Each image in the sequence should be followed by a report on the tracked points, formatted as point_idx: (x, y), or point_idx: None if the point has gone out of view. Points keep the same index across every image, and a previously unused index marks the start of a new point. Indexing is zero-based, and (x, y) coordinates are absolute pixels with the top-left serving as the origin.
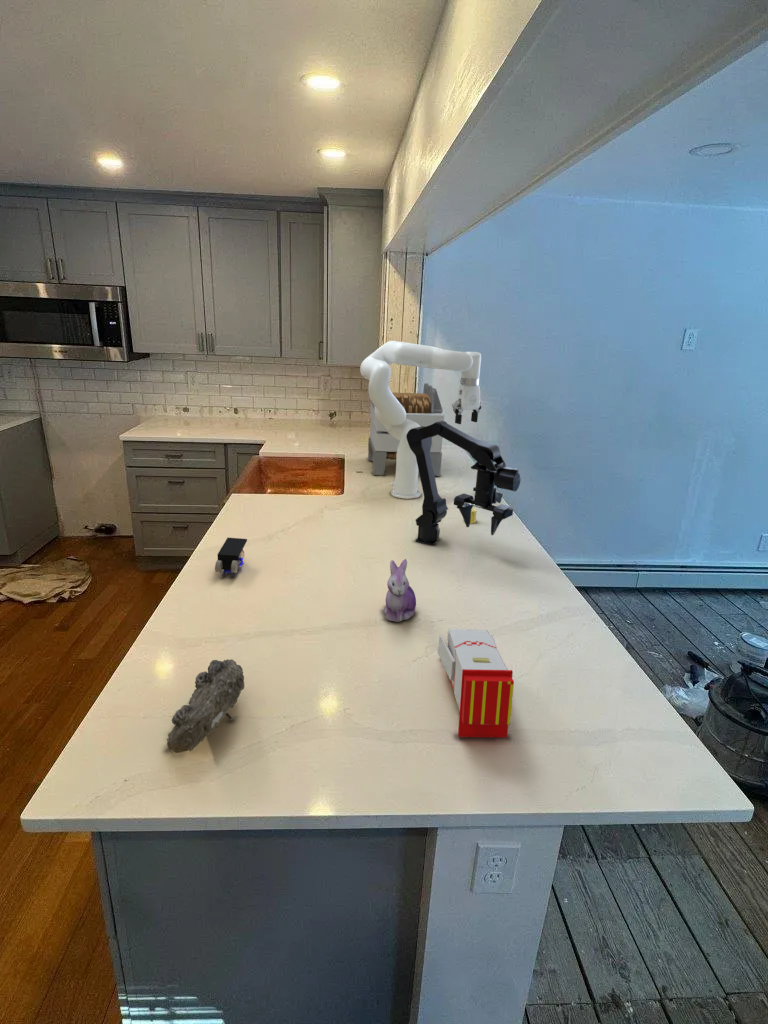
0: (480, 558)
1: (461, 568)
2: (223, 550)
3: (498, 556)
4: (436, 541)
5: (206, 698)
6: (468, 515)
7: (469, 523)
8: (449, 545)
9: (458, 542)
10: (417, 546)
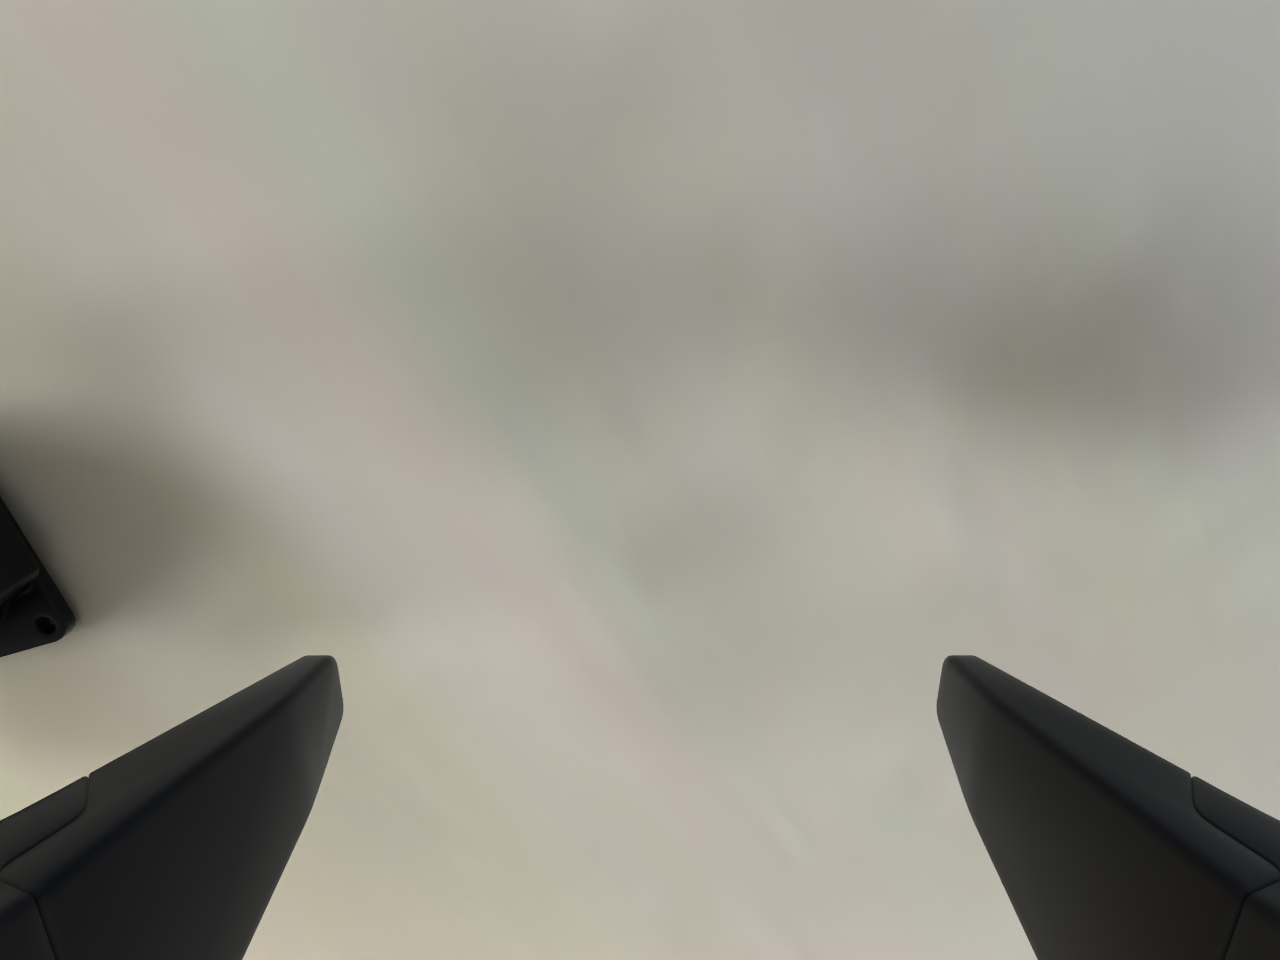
0: (717, 526)
1: (701, 853)
2: None
3: (868, 299)
4: (37, 573)
5: None
6: (163, 935)
7: (305, 715)
8: (193, 473)
9: (183, 290)
10: (10, 755)
